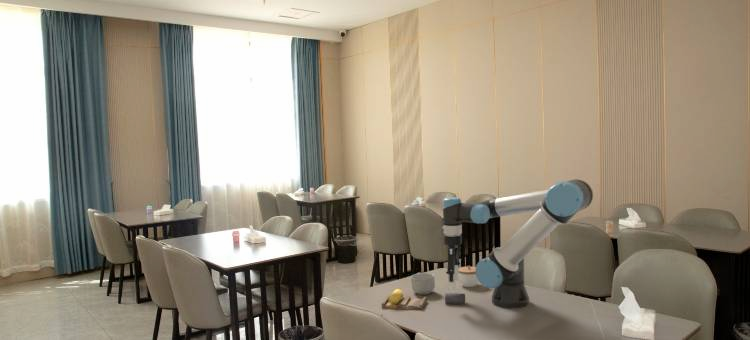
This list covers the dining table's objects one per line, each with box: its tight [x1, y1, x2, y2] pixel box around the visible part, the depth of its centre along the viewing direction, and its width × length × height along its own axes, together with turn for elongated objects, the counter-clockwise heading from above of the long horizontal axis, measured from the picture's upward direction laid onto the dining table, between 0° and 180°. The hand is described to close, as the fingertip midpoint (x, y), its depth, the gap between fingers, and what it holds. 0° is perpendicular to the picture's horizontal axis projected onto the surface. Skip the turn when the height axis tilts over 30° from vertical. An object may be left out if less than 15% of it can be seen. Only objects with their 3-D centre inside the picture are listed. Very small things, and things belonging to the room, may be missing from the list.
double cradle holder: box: [381, 295, 427, 311], centre depth 224 cm, size 17×11×2 cm, turn 75°
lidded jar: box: [458, 265, 480, 288], centre depth 249 cm, size 11×11×9 cm
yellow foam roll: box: [388, 288, 404, 305], centre depth 225 cm, size 8×4×4 cm, turn 163°
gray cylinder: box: [444, 292, 466, 305], centre depth 223 cm, size 8×4×4 cm, turn 75°
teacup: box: [410, 272, 436, 296], centre depth 241 cm, size 14×11×8 cm
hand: (453, 284), depth 222 cm, fingers open, 13 cm apart
